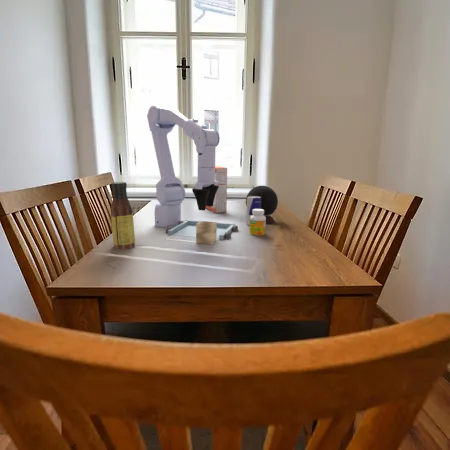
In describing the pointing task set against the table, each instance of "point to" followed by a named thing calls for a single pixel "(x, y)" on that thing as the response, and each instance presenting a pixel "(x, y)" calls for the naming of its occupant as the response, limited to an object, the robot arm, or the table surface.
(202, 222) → the light wooden block
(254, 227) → the supplement bottle
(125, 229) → the sauce bottle
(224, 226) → the truck bed
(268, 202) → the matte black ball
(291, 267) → the table surface
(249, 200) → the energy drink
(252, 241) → the table surface
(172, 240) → the tailgate
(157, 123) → the robot arm
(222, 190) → the cracker box
